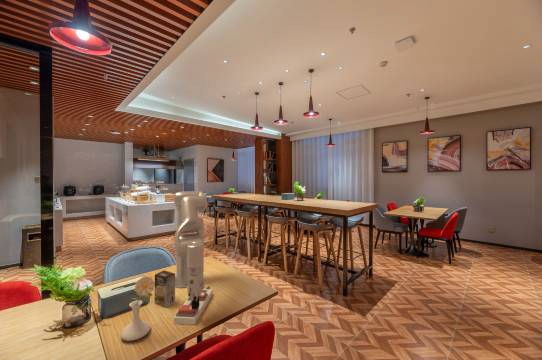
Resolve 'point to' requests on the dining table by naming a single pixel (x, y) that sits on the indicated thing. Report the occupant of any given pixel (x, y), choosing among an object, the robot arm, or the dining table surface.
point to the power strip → (193, 318)
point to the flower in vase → (137, 325)
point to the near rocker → (186, 309)
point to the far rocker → (202, 295)
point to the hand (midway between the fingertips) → (195, 307)
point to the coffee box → (164, 288)
